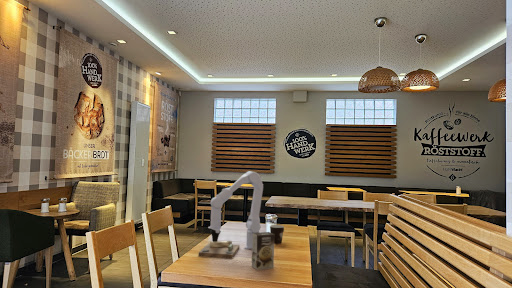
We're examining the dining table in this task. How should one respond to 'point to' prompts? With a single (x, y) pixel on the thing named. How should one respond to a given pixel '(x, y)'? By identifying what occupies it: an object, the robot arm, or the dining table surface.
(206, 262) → the dining table surface
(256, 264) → the coffee box
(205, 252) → the wooden serving board
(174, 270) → the dining table surface
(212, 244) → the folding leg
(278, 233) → the coffee mug
